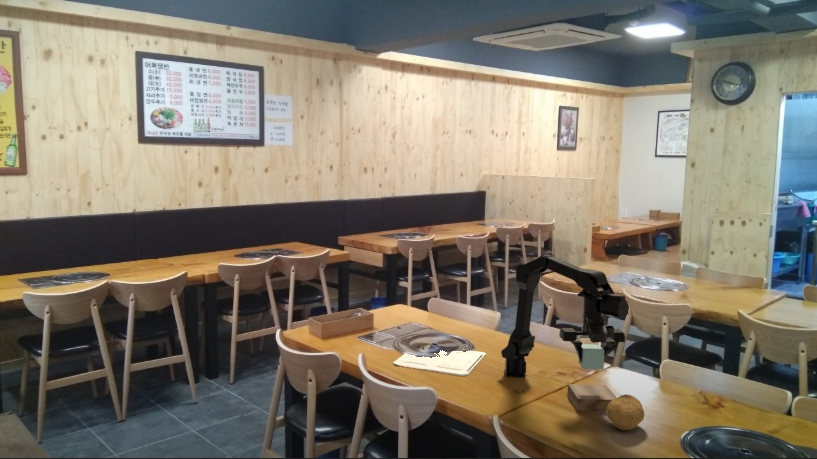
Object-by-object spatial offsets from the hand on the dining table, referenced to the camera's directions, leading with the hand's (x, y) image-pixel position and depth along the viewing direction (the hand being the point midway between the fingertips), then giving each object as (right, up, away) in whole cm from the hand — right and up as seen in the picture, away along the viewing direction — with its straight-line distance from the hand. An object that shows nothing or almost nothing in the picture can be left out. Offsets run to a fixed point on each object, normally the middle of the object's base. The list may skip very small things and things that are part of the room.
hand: (590, 362), depth 183 cm
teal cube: (0, -1, 0) cm, 1 cm away
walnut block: (0, -13, 0) cm, 13 cm away
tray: (-44, -8, +39) cm, 59 cm away
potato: (+4, -15, -17) cm, 23 cm away
